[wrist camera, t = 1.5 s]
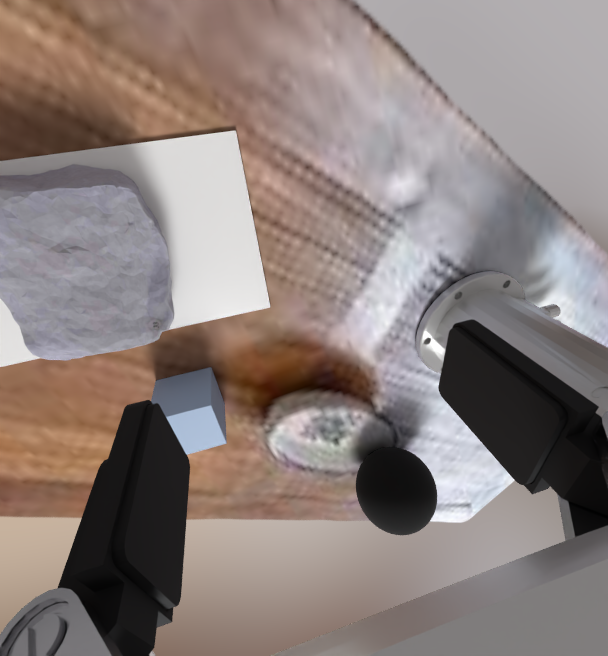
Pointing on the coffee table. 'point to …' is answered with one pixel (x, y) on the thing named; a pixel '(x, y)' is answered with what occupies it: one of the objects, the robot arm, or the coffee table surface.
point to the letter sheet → (177, 224)
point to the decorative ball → (396, 491)
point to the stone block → (82, 262)
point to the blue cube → (193, 409)
